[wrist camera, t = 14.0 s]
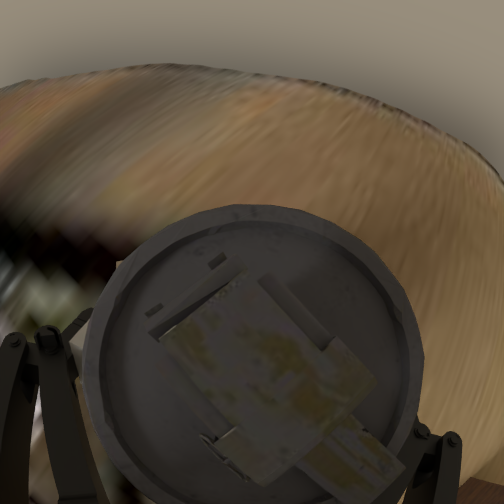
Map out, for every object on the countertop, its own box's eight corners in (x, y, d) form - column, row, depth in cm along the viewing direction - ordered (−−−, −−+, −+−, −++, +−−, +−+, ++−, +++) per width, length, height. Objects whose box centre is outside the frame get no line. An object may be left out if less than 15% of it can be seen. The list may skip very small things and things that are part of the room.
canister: (156, 356, 23) (-26, 321, 4) (247, 282, 26) (283, 93, 7) (240, 448, 20) (262, 624, 2) (328, 371, 23) (527, 362, 5)
